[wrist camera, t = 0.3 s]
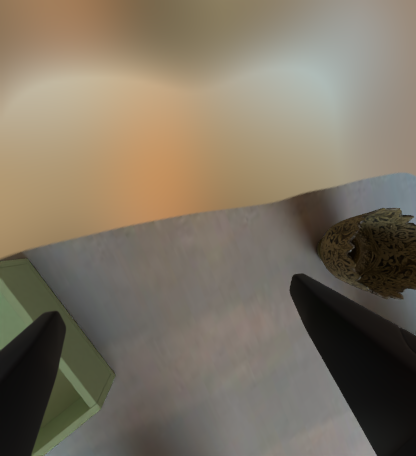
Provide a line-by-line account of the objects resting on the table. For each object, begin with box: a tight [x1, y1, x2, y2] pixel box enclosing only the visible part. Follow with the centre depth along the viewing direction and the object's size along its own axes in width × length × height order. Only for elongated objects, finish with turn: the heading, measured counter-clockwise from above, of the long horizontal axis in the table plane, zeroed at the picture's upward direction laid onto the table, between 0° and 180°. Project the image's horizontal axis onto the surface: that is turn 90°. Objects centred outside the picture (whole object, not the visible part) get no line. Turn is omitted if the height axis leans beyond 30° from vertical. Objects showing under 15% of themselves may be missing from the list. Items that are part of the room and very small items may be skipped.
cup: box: [317, 208, 416, 299], centre depth 22 cm, size 8×7×8 cm
